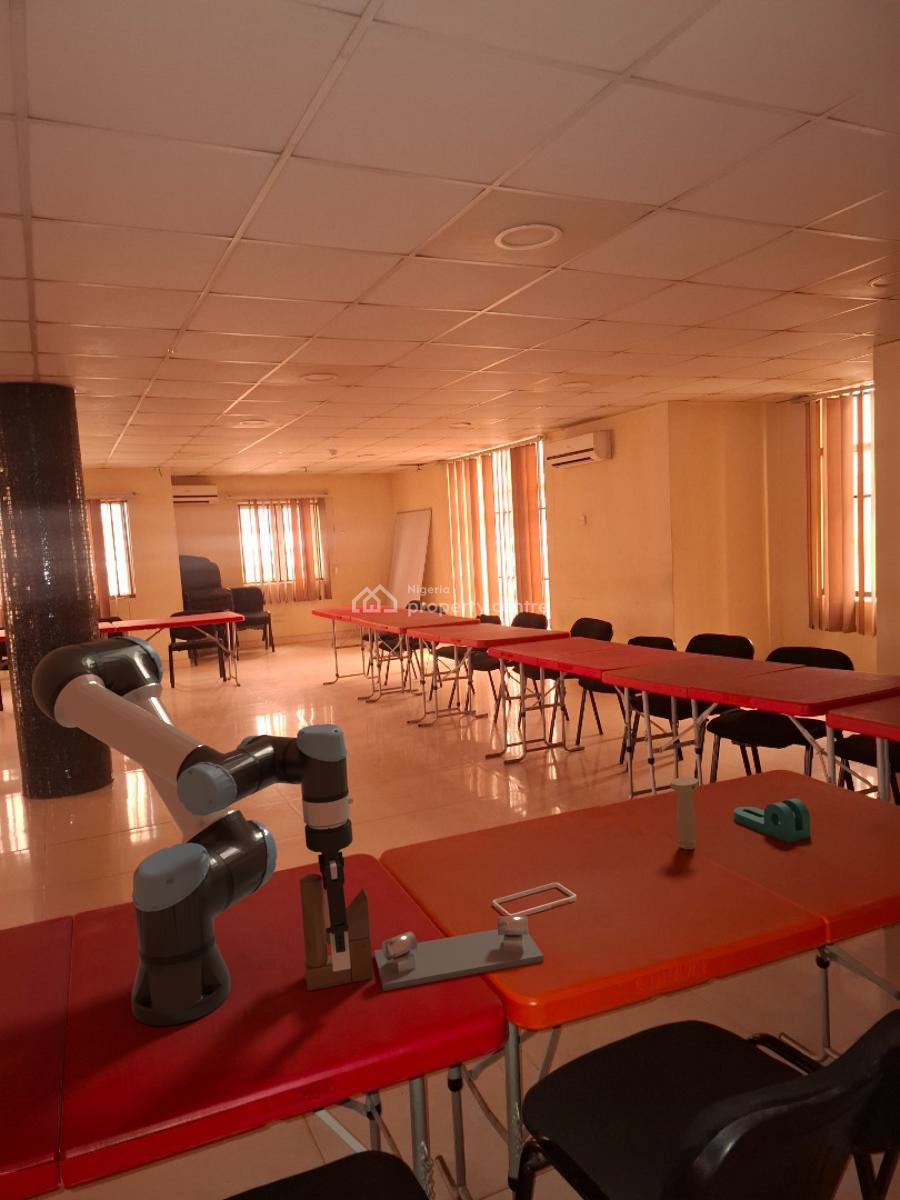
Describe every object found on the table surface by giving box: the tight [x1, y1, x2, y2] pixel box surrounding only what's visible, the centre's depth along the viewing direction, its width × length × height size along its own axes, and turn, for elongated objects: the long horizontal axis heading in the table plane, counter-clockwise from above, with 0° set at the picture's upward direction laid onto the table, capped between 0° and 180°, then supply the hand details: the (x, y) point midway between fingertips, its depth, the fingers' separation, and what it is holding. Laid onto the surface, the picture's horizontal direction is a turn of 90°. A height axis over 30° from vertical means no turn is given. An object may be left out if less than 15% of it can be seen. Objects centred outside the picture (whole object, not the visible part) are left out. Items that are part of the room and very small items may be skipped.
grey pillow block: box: [381, 930, 418, 975], centre depth 130 cm, size 5×4×5 cm
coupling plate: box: [373, 928, 545, 992], centre depth 133 cm, size 27×11×1 cm, turn 103°
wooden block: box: [299, 873, 374, 992], centre depth 128 cm, size 4×11×18 cm, turn 105°
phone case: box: [492, 882, 577, 916], centre depth 152 cm, size 7×1×15 cm
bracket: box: [733, 797, 811, 844], centre depth 182 cm, size 18×7×8 cm, turn 24°
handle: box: [670, 776, 700, 851], centre depth 173 cm, size 5×6×15 cm
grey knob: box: [497, 915, 529, 952], centre depth 134 cm, size 5×4×5 cm
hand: (338, 947), depth 128 cm, fingers open, 13 cm apart
